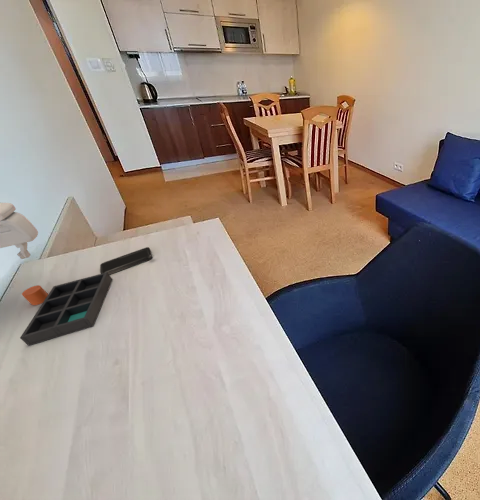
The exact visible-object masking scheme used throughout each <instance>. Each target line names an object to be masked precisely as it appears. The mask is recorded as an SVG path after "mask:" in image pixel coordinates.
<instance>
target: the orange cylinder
mask: <svg viewBox="0 0 480 500" xmlns="http://www.w3.org/2000/svg"><path fill="white" fill-rule="evenodd" d="M48 294H49V293H47V291H46V290H45V289H44V288H43V287H42V285H34V286H30V287H29V288H26V289H25V290H24V291H23V292H22V293H21V296H22V297H23V298H24V299H25V300H26V301H27V302H28V303H29V304H30V305H31V306H39V305H42V303H43V302H44V300H45V299H46V297H47V296H48Z"/></svg>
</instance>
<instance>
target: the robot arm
mask: <svg viewBox="0 0 480 500" xmlns="http://www.w3.org/2000/svg"><path fill="white" fill-rule="evenodd" d="M16 209H17V208H16V207H15V205H14V204H13V203H11V202H0V249H3V248H8V247H13V246H15V247H16V248H17V249H20V250H19V252H18V253H17V256H18V257H19V258H20V259H21V260H23V259H28V258H30V257H31V253H30V252H29V251H28V243H30V242H31V243H32V242H33V241H34V240H35V239H36V238H37V237H38V236H39V231H38V229H37V228H36V226H35V225H34V224H33V223H32V222H31V221H30V220H29V219H28V218H27V217H26V216H25V215H23V214H22V213H20V212H17V211H16Z"/></svg>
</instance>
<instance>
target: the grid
mask: <svg viewBox="0 0 480 500" xmlns="http://www.w3.org/2000/svg"><path fill="white" fill-rule="evenodd" d="M113 280H114V279H113V277H112V276H111V274H110V275H109V274H108V272H106V273H102V274H101V273H99V274H94V275H92V276H88V277H83V278H80V279H76V280H71V281H68V282H65V283H60V284H57V285H53V286H52V288H51V289H50V291H49V292H48V293H47V294H48V296H47V297H46V299H45V300H44V302H43V303H41V304H40V306H39V307H38V309H37V311H36V312H35V314H34V316H33V317H32V319H31V320H30V321H29V323H28V324H27V326H26V327H25V329H24V330H23V332H22V334H21V335H20V337H19V339H20V340H22V341H23V343H25V344H26V345H27V346H28V347H29V346H32V345H33V346H34V345H36V344H40V343H42V342H46V341H50V340H53V339H56V338H59V337H62V336H66V335H69V334H72V333H76V332H79V331H83V330H87V329H88V328H92V327H94V326H95V324H96V321H97V318H98V316H99V314H100V311H101V308H102V306H103V304H104V302H105V299H106V297H107V294H108V292H109V289H110V287H111V284H112V282H113Z"/></svg>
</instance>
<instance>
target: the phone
mask: <svg viewBox="0 0 480 500" xmlns="http://www.w3.org/2000/svg"><path fill="white" fill-rule="evenodd" d="M152 259H153V253H152V250H151V248H150V246H149V247H148V246H147V247H144V248H140V249H137V250H135V251H132V252H129V253H127V254H123V255H120V256H118V257H115V258H112V259H109V260H107V261H104V262H101V263H100V265H99V268H100V269H99V274H102V273H106V272H108V274H109V275H110V276H111V275H113V274H115V273H117V272H121V271H123V270H126V269H128V268H131V267H134V266H136V265H140V264H142V263H145V262H147V261H150V260H152Z"/></svg>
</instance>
